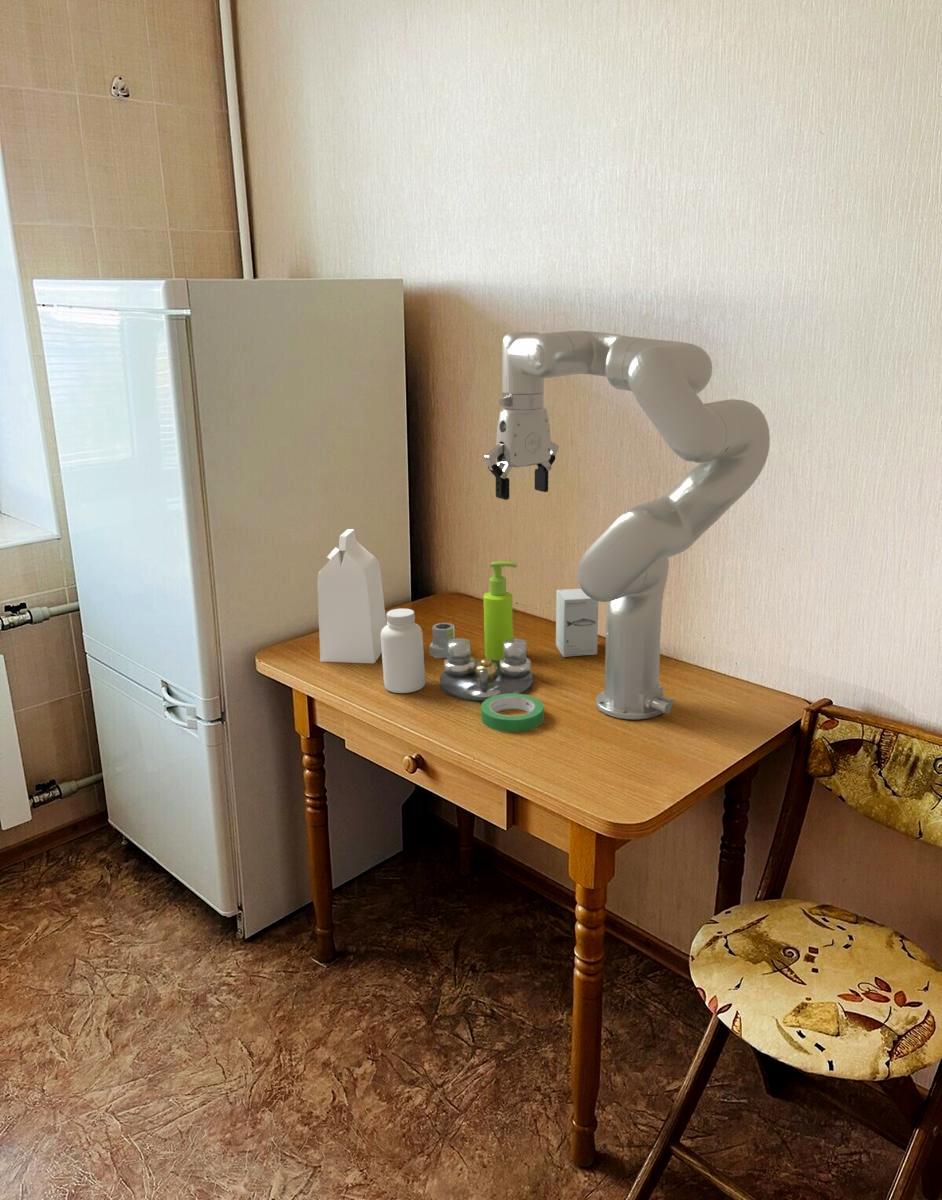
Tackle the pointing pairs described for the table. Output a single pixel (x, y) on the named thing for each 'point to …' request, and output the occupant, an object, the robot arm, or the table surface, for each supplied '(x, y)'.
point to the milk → (350, 604)
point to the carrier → (485, 672)
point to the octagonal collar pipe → (441, 639)
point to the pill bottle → (402, 652)
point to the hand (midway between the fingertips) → (522, 494)
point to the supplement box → (576, 623)
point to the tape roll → (512, 722)
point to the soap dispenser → (497, 613)
